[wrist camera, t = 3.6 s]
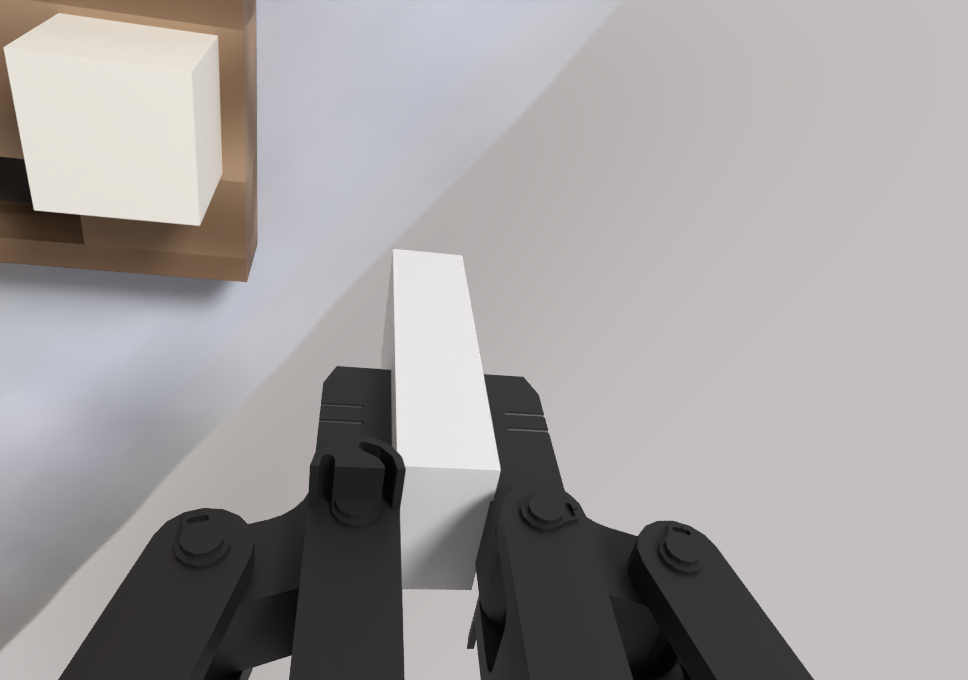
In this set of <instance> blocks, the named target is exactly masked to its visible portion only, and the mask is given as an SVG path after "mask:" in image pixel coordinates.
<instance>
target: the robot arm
mask: <svg viewBox="0 0 968 680" xmlns="http://www.w3.org/2000/svg"><path fill="white" fill-rule="evenodd" d="M543 415H544V413H543V410H542V406H541V402H540V398H539V395H538V394H537V392H536V391H535V390H534V389H533V388H532V387H531V385H530V384H529V383H528V382H527V381H526V380H525V378H524V377H516V376H501V375H486V374H483V369H482V364H481V358H480V352H479V347H478V342H477V336H476V330H475V325H474V319H473V314H472V308H471V303H470V297H469V291H468V287H467V281H466V275H465V270H464V264H463V258H462V256H461V255H450V254H439V253H430V252H419V251H410V250H399V249H393V254H392V263H391V272H390V281H389V291H388V299H387V308H386V318H385V326H384V336H383V344H382V369H370V368H355V367H341V366H337V367H336V368H335V369H334V370H333V372H332V373H331V374H330V375H329V376H328V378H327V379H326V380H325V381H324V383H323V391H322V400H321V409H320V418H319V427H318V436H317V445H316V453H315V455H314V457H313V459H312V462H311V464H310V477H309V493H308V494H307V496H306V497H305V499H304V500H303V501H302V502H301V503H300V504H299V505H297V506H296V507H295V508H294V509H292V510H290V511H289V512H287V513H285V514H283V515H281V516H278V517H275V518H272V519H269V520H264V521H260V522H256V523H252V524H247V523H246V522H245V521H244V520H243V519H242V518H241V517H240V516H238V515H236V514H234V513H231V512H229V511H226V510H223V509H210V508H202V509H197V510H193V511H188V512H184V513H182V514H180V515H178V516H176V517H175V518H173V519H171V520H169V521H167V522H166V523H165V524H164V525H163V526H162V527H161V528H160V529H159V530H158V531H157V532H156V533H155V534H154V535H153V537H152V538H151V540H150V542H149V543H148V544H147V546H146V548H145V549H144V551H143V552H142V554H141V555H140V557H139V558H138V560H137V561H136V563H135V564H134V566H133V567H132V569H131V570H130V572H129V573H128V575H127V577H126V578H125V579H124V581H123V582H122V584H121V585H120V587H119V588H118V590H117V592H116V593H115V595H114V596H113V598H112V599H111V601H110V602H109V604H108V605H107V607H106V608H105V610H104V611H103V613H102V614H101V616H100V617H99V619H98V620H97V622H96V623H95V625H94V626H93V628H92V629H91V631H90V632H89V634H88V635H87V637H86V638H85V640H84V641H83V643H82V644H81V646H80V648H79V649H78V651H77V652H76V654H75V655H74V657H73V658H72V660H71V661H70V663H69V664H68V666H67V667H66V669H65V670H64V672H63V673H62V675H61V676H60V678H59V679H58V680H248V678H249V676H250V674H251V672H252V668H253V667H256V666H259V665H262V664H265V663H268V662H271V661H275V660H278V659H281V658H284V657H287V656H291V655H292V658H291V667H290V677H289V680H404V648H403V608H402V589H447V590H451V589H452V590H453V589H454V590H471V589H472V585H473V581H474V577H475V573H477V581H478V589H479V597H478V601H477V605H476V609H475V612H474V617H473V621H472V625H471V629H470V632H469V636H468V645H467V649H474V646H475V642H476V640H477V649H478V658H479V667H480V676H481V680H814V679H813V678H812V677H811V675H810V674H809V672H808V671H807V670H806V668H805V667H804V665H803V664H802V663H801V662H800V660H799V659H798V657H797V656H796V655H795V653H794V652H793V651H792V649H791V648H790V646H789V645H788V644H787V643H786V641H785V640H784V638H783V637H782V636H781V634H780V633H779V631H778V630H777V629H776V627H775V626H774V625H773V623H772V622H771V621H770V619H769V618H768V617H767V615H766V614H765V612H764V611H763V610H762V609H761V607H760V606H759V604H758V603H757V602H756V600H755V599H754V598H753V596H752V595H751V594H750V592H749V591H748V589H747V588H746V587H745V585H744V584H743V583H742V581H741V580H740V579H739V577H738V576H737V574H736V573H735V572H734V570H733V569H732V568H731V566H730V565H729V563H728V562H727V561H726V559H725V558H724V557H723V555H722V554H721V553H720V551H719V550H718V549H717V547H716V546H715V545H714V544H713V543H712V542H711V541H710V540H709V539H708V538H707V537H706V536H705V535H703V534H702V533H700V532H699V531H697V530H695V529H694V528H692V527H691V526H688V525H685V524H681V523H678V522H675V521H656V522H654V523H651V524H649V525H647V526H645V527H644V529H643V530H642V531H641V533H640V534H639V535H638V536H635V535H631V534H628V533H624V532H621V531H618V530H615V529H611V528H608V527H605V526H603V525H600V524H598V523H596V522H594V521H592V520H590V519H589V518H587V517H586V515H585V513H584V512H583V510H582V508H581V506H580V504H579V503H578V502H577V501H576V500H575V499H574V498H573V497H572V496H571V495H569V494H568V493H567V492H565V490H564V487H563V483H562V479H561V476H560V472H559V468H558V465H557V461H556V457H555V454H554V450H553V446H552V443H551V439H550V435H549V433H548V428H547V424H546V420H545V418H544V417H543Z"/></svg>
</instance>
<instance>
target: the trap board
mask: <svg viewBox="0 0 968 680" xmlns="http://www.w3.org/2000/svg"><path fill="white" fill-rule="evenodd" d="M58 13H62V14H69V15H76V16H83V17H90V18H97V19H104V20H111V21H118V22H125V23H132V24H139V25H146V26H153V27H160V28H167V29H175V30H182V31H189V32H196V33H203V34H210V35H217V36H218V49H219V80H220V112H221V143H222V176H221V178H220V180H219V182H218V185H217V187H216V189H215V192H214V194H213V196H212V199H211V201H210V203H209V206H208V208H207V210H206V213H205V215H204V217H203V220H202V222H201V224H200V226H196V225H185V224H175V223H164V222H153V221H143V220H132V219H121V218H111V217H100V216H89V215H79V214H68V213H57V212H47V211H36V210H34V207H33V202H32V197H31V192H30V186H29V181H28V176H27V170H26V165H25V160H24V154H23V149H22V144H21V138H20V133H19V128H18V122H17V117H16V112H15V106H14V101H13V96H12V90H11V85H10V80H9V75H8V69H7V64H6V59H5V53H4V48H3V47H5V46H6V45H8V44H10V43H11V42H13V41H14V40H16V39H18V38H19V37H21V36H22V35H24V34H26V33H27V32H29V31H31V30H32V29H34V28H35V27H37V26H39V25H40V24H42V23H43V22H45V21H47V20H48V19H50V18H52V17H53V16H55V15H56V14H58ZM256 247H257V83H256V0H0V262H5V263H18V264H30V265H42V266H55V267H67V268H79V269H92V270H104V271H117V272H129V273H141V274H154V275H166V276H178V277H191V278H203V279H215V280H228V281H240V282H247V280H248V276H249V272H250V269H251V265H252V262H253V258H254V254H255V251H256Z"/></svg>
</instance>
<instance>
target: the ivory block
mask: <svg viewBox="0 0 968 680" xmlns="http://www.w3.org/2000/svg"><path fill="white" fill-rule="evenodd" d="M3 48H4V53H5V59H6V64H7V69H8V75H9V80H10V85H11V90H12V96H13V101H14V106H15V112H16V117H17V122H18V128H19V133H20V138H21V144H22V149H23V154H24V160H25V165H26V170H27V176H28V181H29V186H30V192H31V197H32V202H33V207H34V210H36V211H47V212H57V213H68V214H79V215H89V216H100V217H111V218H121V219H132V220H143V221H153V222H164V223H175V224H185V225H196V226H200V224H201V222H202V220H203V217H204V215H205V213H206V210H207V208H208V206H209V203H210V201H211V199H212V196H213V194H214V192H215V189H216V187H217V185H218V182H219V180H220V178H221V176H222V143H221V112H220V80H219V49H218V36H217V35H210V34H203V33H196V32H189V31H182V30H175V29H167V28H160V27H153V26H146V25H139V24H132V23H125V22H118V21H111V20H104V19H97V18H90V17H83V16H76V15H69V14H62V13H58V14H56V15H55V16H53V17H52V18H50V19H48V20H47V21H45V22H43V23H42V24H40V25H39V26H37V27H35V28H34V29H32V30H31V31H29V32H27V33H26V34H24V35H22V36H21V37H19V38H18V39H16V40H14V41H13V42H11V43H10V44H8V45H6V46H5V47H3Z"/></svg>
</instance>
